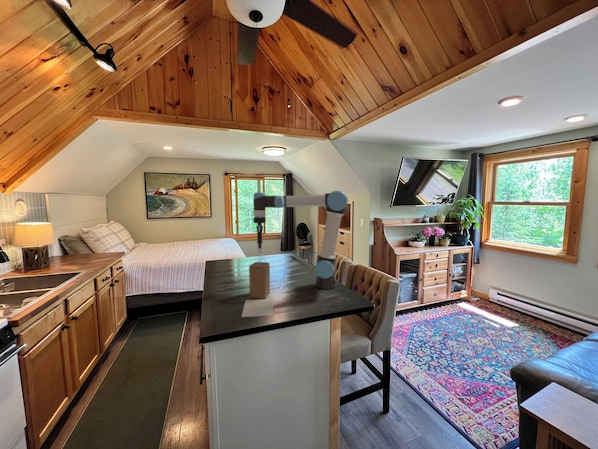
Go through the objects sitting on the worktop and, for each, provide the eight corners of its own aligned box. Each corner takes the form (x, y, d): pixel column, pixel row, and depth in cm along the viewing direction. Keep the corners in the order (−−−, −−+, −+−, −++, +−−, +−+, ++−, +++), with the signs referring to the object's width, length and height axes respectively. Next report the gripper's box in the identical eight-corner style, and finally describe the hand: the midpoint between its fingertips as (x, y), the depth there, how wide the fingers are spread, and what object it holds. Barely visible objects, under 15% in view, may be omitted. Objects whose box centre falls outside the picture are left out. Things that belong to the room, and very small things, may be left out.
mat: (273, 299, 148) (273, 298, 148) (273, 315, 127) (273, 314, 127) (245, 300, 146) (245, 299, 146) (241, 317, 125) (241, 316, 125)
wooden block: (265, 299, 147) (264, 266, 145) (249, 298, 149) (248, 265, 147) (270, 293, 157) (269, 262, 155) (255, 292, 159) (254, 261, 157)
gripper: (254, 216, 166) (254, 250, 169) (252, 217, 153) (253, 255, 156) (265, 216, 167) (265, 250, 170) (265, 217, 154) (265, 254, 157)
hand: (259, 252), depth 163 cm, fingers closed
